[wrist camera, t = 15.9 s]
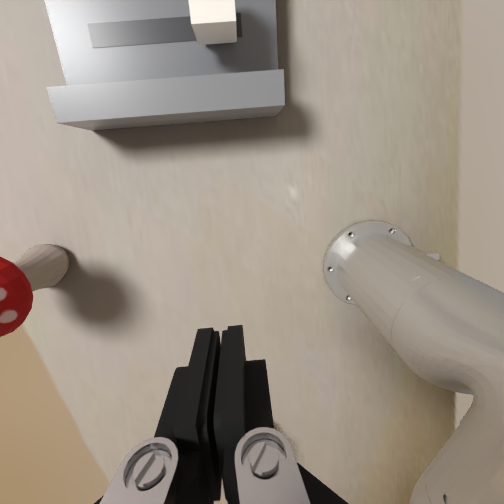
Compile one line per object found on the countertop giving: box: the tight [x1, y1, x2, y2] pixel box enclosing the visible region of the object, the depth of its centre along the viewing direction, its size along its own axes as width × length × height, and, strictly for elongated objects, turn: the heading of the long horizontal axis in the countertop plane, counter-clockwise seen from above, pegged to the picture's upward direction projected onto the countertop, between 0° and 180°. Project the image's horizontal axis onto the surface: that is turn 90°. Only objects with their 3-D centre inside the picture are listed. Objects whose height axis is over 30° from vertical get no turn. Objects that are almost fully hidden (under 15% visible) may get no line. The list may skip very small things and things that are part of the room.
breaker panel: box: [45, 0, 285, 131], centre depth 26 cm, size 22×16×6 cm
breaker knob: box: [188, 0, 237, 45], centre depth 24 cm, size 4×4×6 cm
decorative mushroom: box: [0, 244, 69, 337], centre depth 30 cm, size 10×9×15 cm
